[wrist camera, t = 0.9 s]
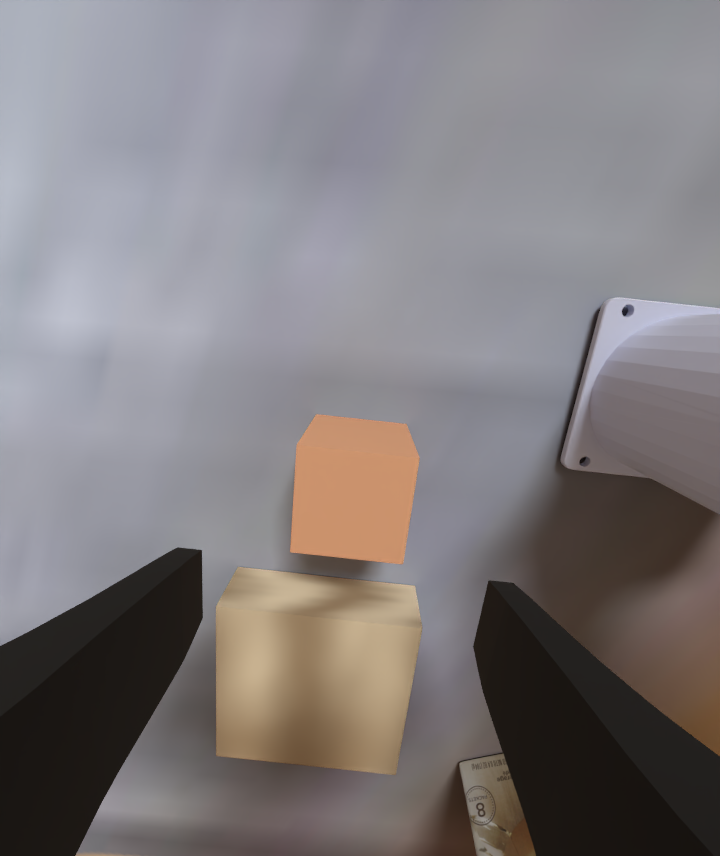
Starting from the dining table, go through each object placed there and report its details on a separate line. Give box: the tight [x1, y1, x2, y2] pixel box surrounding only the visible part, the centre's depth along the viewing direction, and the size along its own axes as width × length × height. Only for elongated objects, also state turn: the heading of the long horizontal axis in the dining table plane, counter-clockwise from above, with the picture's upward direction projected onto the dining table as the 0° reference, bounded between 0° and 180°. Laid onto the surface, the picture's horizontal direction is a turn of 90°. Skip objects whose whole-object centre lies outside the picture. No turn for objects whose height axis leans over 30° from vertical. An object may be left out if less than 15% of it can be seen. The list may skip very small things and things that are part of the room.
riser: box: [216, 567, 422, 775], centre depth 20 cm, size 10×10×3 cm
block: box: [290, 414, 420, 564], centre depth 16 cm, size 4×4×5 cm
